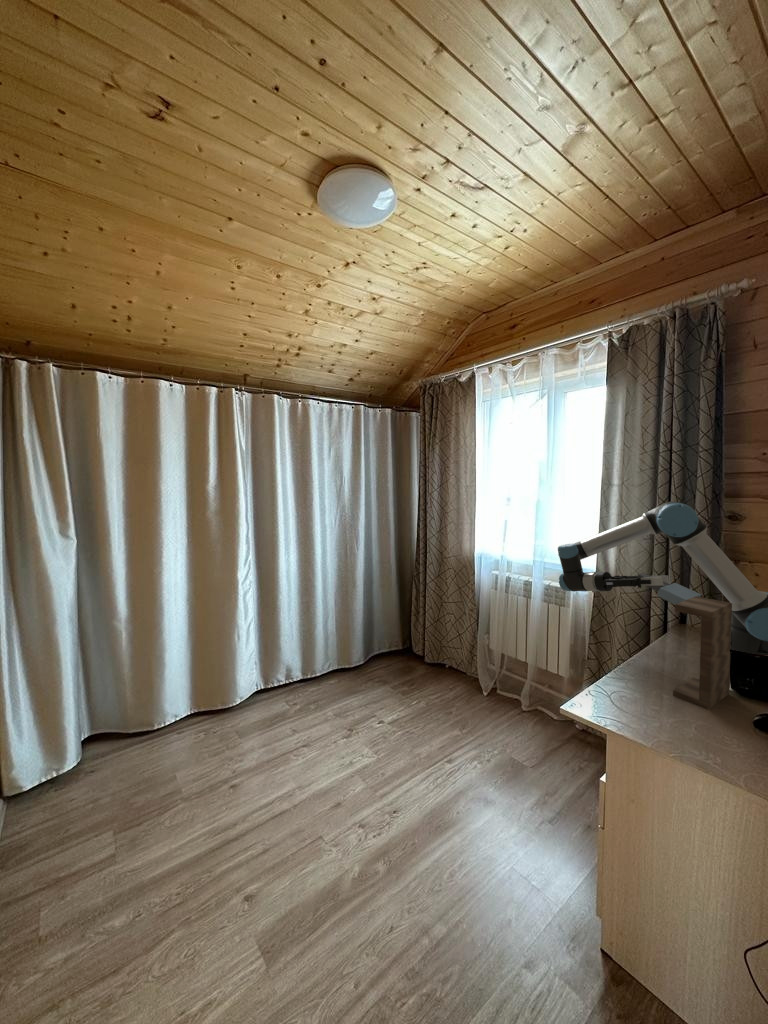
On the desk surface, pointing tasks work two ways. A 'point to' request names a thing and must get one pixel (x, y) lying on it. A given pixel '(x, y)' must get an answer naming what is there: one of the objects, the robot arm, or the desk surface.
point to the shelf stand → (709, 651)
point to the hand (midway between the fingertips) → (665, 580)
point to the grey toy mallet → (672, 591)
